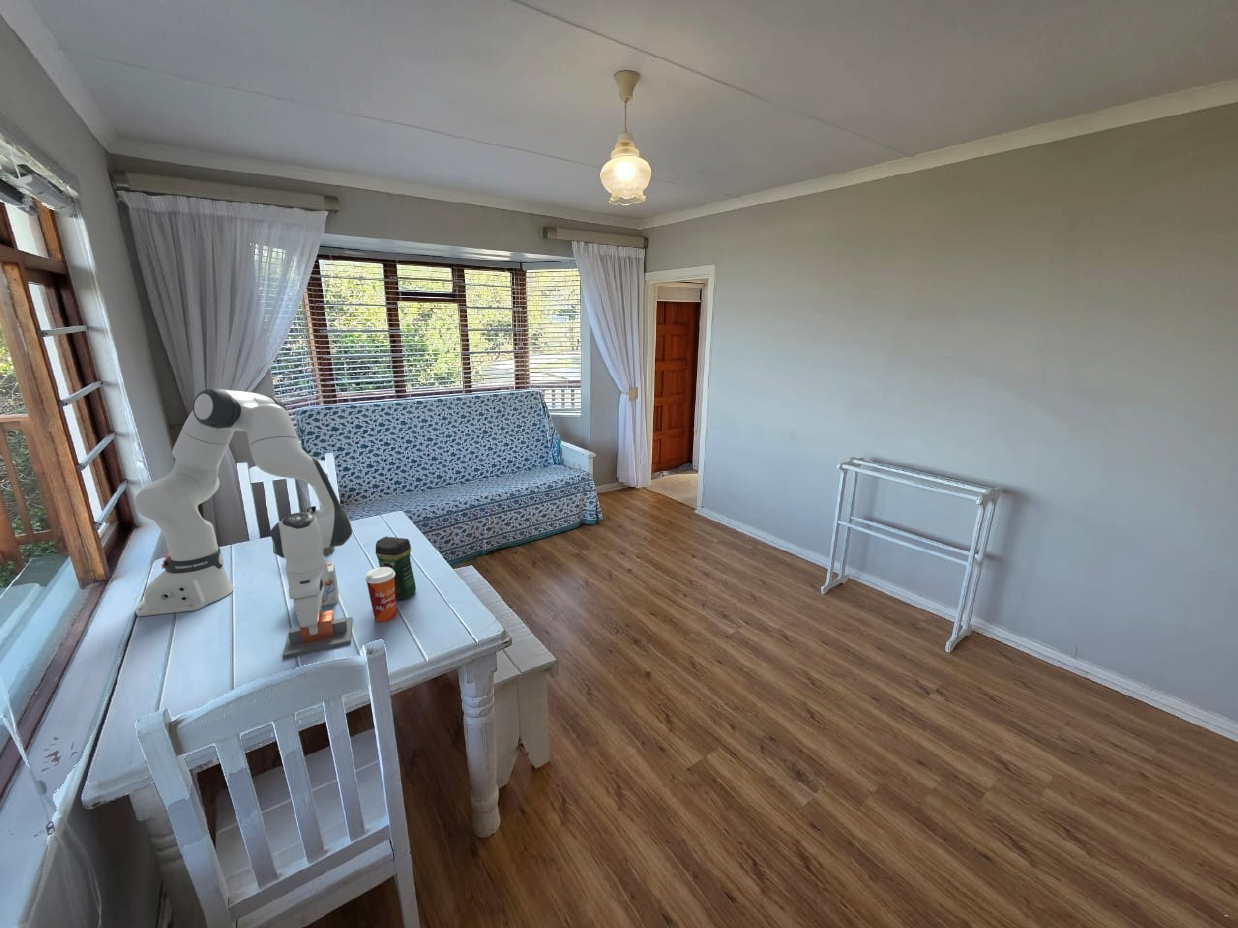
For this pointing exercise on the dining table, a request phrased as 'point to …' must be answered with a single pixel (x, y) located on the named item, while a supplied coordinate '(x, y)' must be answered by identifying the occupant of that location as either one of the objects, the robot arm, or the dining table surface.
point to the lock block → (320, 628)
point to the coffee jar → (397, 564)
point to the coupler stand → (296, 646)
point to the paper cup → (382, 593)
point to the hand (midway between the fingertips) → (316, 623)
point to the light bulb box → (330, 587)
